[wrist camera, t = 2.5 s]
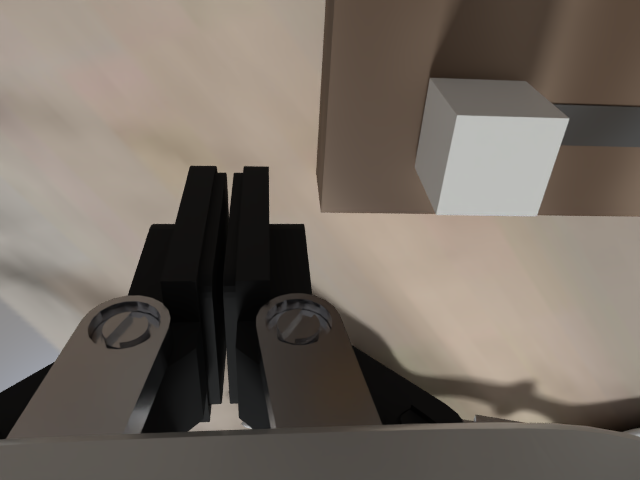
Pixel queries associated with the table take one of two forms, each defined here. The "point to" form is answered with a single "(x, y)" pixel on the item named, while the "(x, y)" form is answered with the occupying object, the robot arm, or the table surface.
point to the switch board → (486, 64)
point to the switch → (487, 146)
